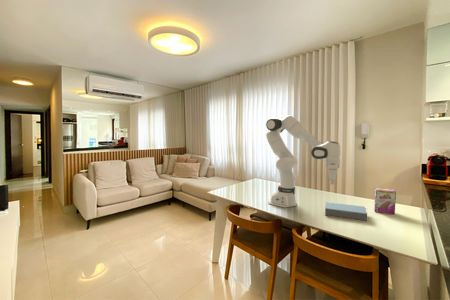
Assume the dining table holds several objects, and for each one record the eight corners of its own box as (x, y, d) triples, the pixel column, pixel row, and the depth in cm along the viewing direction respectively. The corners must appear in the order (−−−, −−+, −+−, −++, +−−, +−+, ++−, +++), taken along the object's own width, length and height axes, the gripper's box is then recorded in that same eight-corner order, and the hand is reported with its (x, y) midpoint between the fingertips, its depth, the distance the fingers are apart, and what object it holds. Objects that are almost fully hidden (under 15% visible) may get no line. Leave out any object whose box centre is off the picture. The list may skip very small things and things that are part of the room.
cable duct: (325, 215, 140) (325, 209, 139) (325, 209, 150) (325, 203, 150) (367, 221, 129) (367, 215, 128) (364, 214, 139) (364, 208, 139)
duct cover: (325, 209, 139) (325, 207, 139) (325, 203, 151) (325, 202, 151) (367, 214, 128) (367, 213, 128) (364, 207, 140) (364, 206, 140)
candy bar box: (374, 212, 143) (375, 189, 141) (374, 209, 147) (374, 187, 146) (395, 215, 137) (396, 191, 136) (393, 212, 141) (394, 189, 140)
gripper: (327, 162, 151) (327, 180, 152) (327, 166, 133) (326, 187, 134) (337, 162, 148) (336, 180, 149) (338, 167, 130) (337, 188, 131)
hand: (332, 183), depth 141 cm, fingers closed
